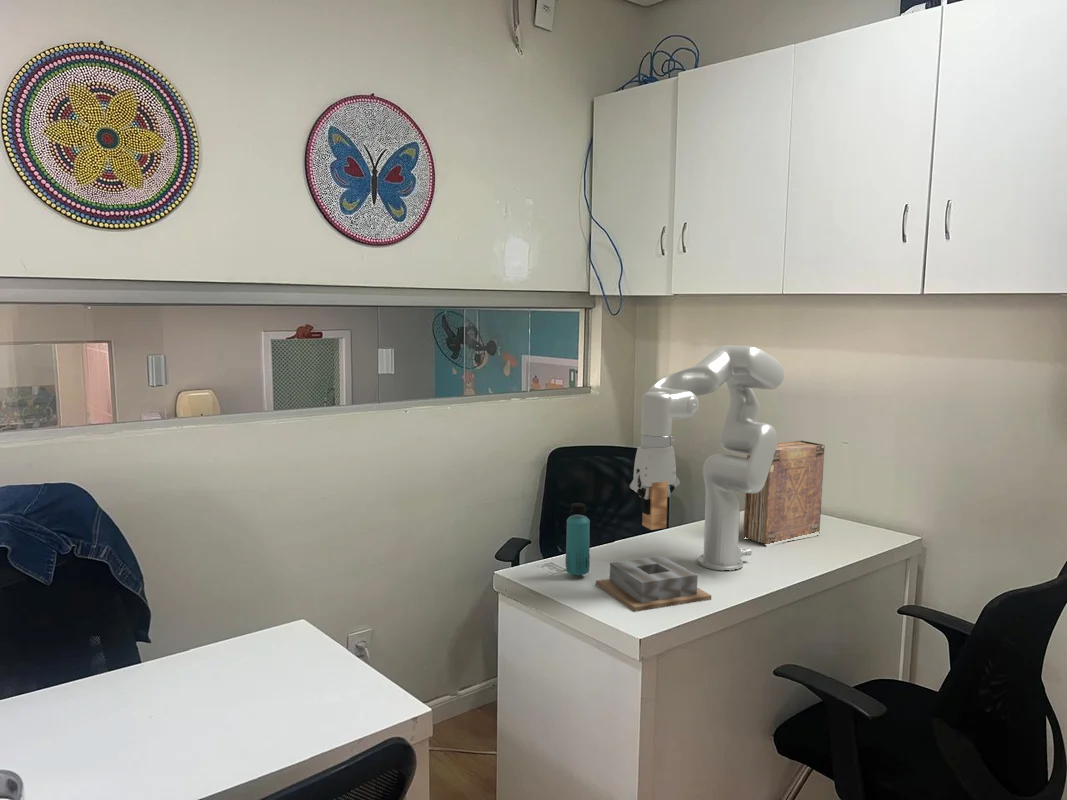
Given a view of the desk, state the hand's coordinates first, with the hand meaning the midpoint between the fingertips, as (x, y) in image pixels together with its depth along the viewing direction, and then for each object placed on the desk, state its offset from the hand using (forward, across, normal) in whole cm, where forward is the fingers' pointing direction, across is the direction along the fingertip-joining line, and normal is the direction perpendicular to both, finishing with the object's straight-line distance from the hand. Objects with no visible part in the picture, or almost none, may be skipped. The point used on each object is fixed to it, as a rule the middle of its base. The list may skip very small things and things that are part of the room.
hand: (654, 511), depth 197 cm
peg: (+4, 0, 0) cm, 4 cm away
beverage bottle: (+21, +13, -17) cm, 30 cm away
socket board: (+21, 0, 0) cm, 21 cm away
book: (+22, -65, -27) cm, 74 cm away
